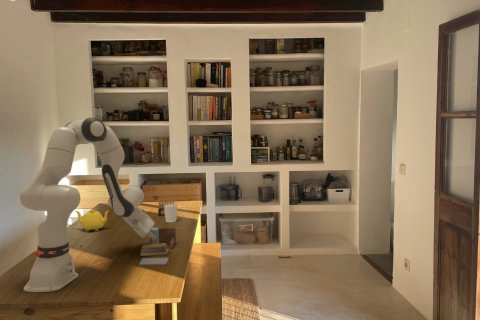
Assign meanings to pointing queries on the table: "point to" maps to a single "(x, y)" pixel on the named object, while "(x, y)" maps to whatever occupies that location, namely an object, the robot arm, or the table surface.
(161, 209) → the ammunition clip
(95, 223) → the teapot
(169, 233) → the walnut rack
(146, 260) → the felt mat
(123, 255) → the table surface
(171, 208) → the white cup
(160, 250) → the offcut stack
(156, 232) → the batten
